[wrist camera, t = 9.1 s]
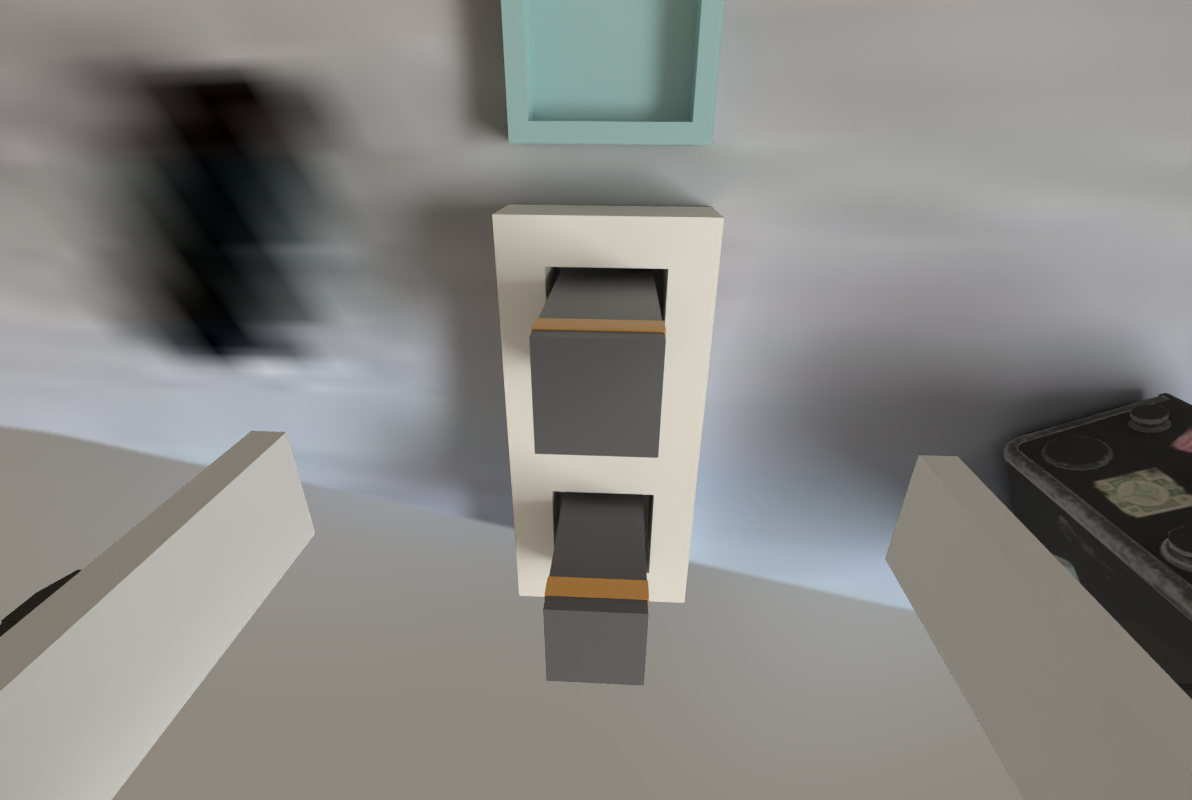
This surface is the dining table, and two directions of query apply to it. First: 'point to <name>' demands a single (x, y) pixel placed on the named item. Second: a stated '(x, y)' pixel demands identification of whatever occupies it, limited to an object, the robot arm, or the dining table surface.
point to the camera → (1116, 509)
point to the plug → (598, 364)
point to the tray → (611, 70)
